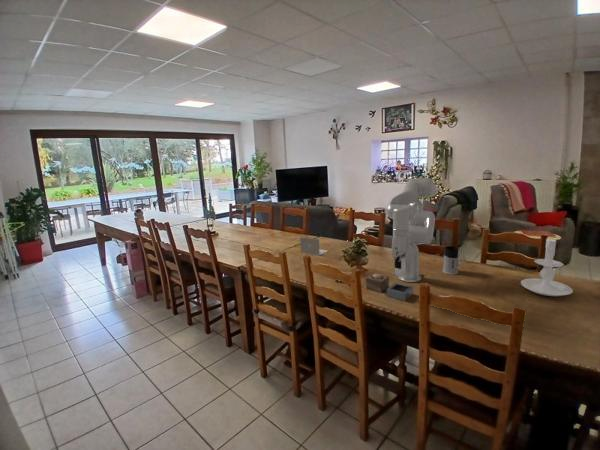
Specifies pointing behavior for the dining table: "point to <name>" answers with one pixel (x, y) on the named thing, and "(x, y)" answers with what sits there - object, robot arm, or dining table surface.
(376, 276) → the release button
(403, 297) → the cartridge housing
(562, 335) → the dining table surface
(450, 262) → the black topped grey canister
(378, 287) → the grey square box
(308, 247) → the laptop
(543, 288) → the candlestick
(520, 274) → the dining table surface
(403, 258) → the filter cartridge
